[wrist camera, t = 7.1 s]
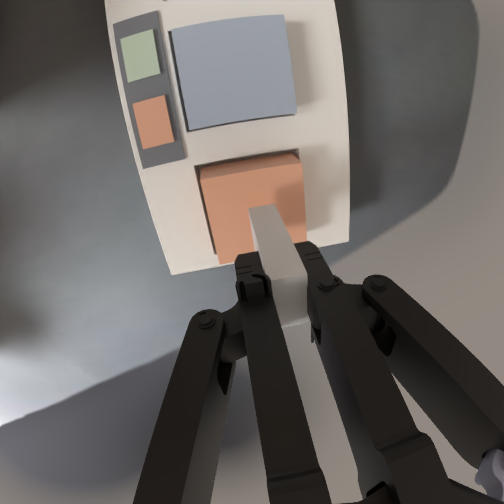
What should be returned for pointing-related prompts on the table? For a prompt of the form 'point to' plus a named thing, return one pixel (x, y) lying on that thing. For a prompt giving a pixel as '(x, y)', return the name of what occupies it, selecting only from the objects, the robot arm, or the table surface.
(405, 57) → the table surface
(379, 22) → the table surface
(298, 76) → the keypad
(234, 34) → the slate key
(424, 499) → the robot arm
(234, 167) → the terracotta key
